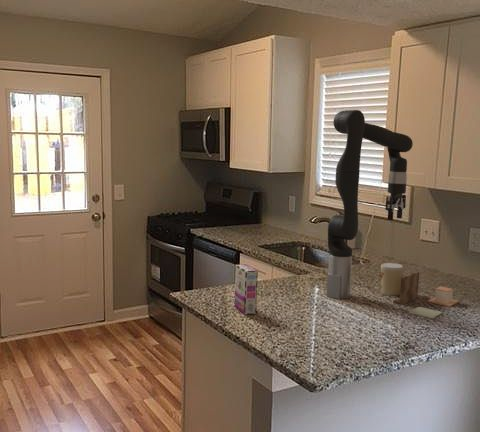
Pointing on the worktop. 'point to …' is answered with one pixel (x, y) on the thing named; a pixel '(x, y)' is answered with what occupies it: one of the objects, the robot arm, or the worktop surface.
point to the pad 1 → (426, 312)
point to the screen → (408, 288)
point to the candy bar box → (246, 289)
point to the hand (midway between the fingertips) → (394, 219)
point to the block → (443, 294)
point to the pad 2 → (443, 303)
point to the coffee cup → (391, 278)
